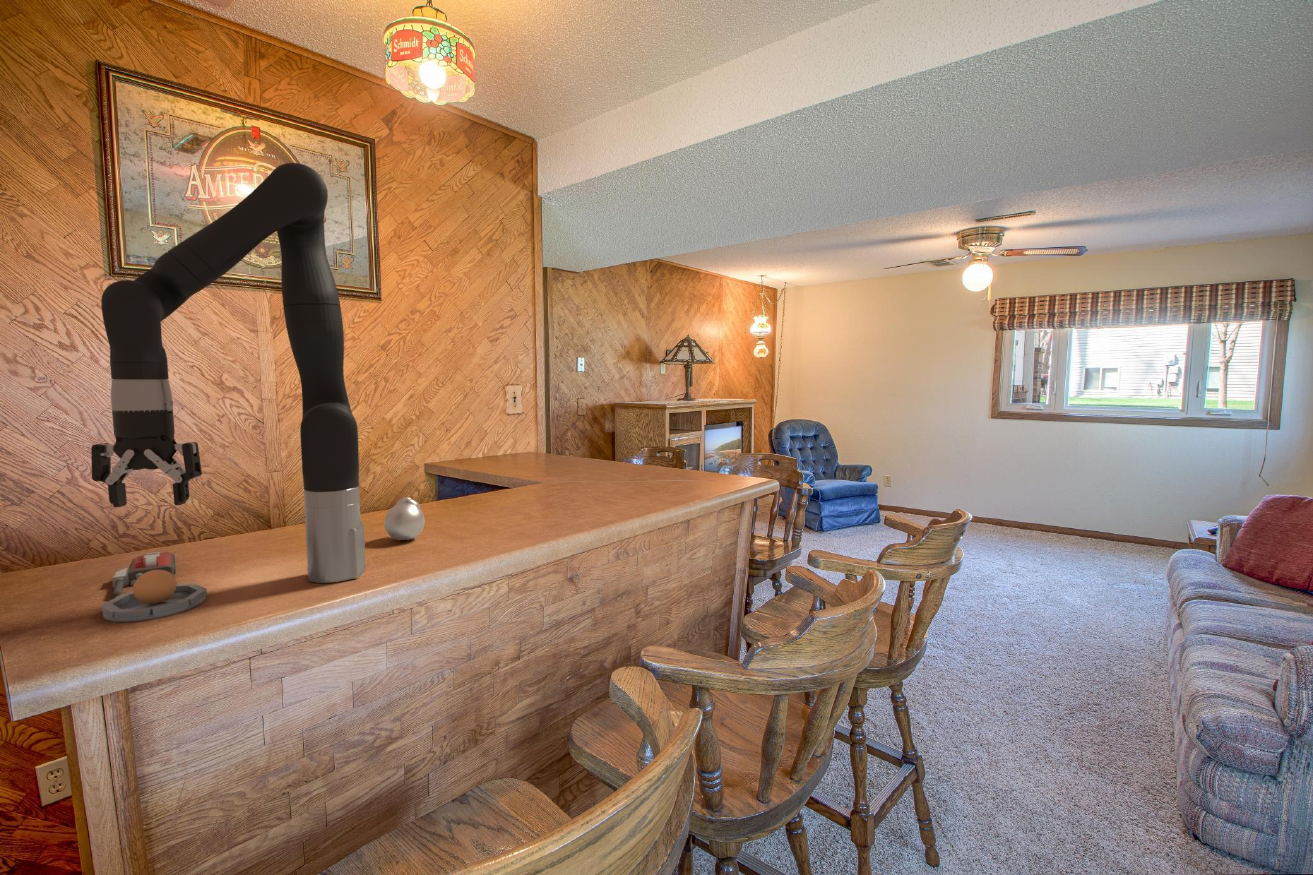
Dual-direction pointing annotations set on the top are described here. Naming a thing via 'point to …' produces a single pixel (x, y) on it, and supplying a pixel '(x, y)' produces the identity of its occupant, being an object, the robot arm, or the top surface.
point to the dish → (153, 605)
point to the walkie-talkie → (143, 569)
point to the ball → (154, 586)
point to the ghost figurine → (404, 520)
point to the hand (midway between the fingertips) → (150, 505)
